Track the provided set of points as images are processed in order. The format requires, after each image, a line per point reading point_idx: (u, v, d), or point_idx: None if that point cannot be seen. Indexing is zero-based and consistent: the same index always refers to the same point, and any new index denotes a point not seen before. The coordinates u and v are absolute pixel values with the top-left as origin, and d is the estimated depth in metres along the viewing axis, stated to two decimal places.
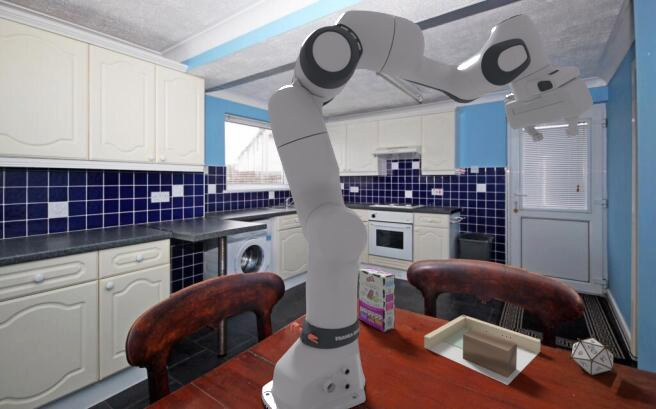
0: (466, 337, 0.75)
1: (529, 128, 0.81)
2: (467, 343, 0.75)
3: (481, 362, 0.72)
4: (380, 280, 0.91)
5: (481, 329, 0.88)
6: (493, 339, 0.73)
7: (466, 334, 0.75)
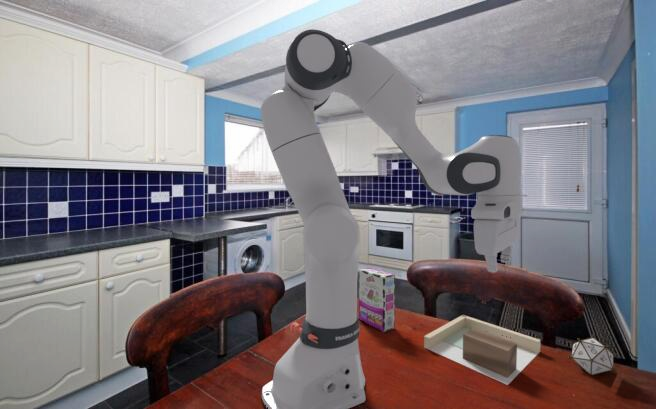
0: (466, 337, 0.75)
1: None
2: (467, 343, 0.75)
3: (481, 362, 0.72)
4: (380, 280, 0.91)
5: (481, 329, 0.88)
6: (493, 339, 0.73)
7: (466, 334, 0.75)
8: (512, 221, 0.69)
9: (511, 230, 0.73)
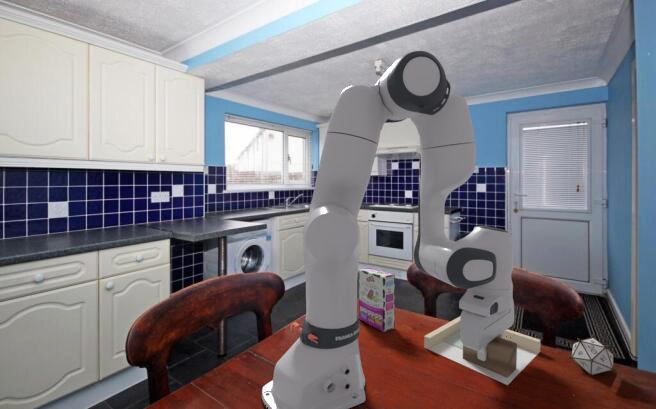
0: None
1: None
2: None
3: (481, 362, 0.72)
4: (380, 280, 0.91)
5: None
6: (493, 339, 0.73)
7: None
8: (502, 313, 0.70)
9: (503, 318, 0.73)
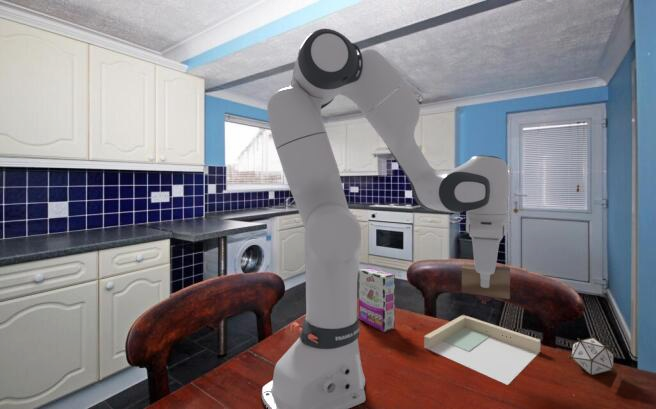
0: (465, 270, 0.75)
1: None
2: (467, 275, 0.75)
3: (482, 291, 0.73)
4: (380, 280, 0.91)
5: (481, 329, 0.88)
6: None
7: (464, 267, 0.75)
8: (500, 239, 0.72)
9: None
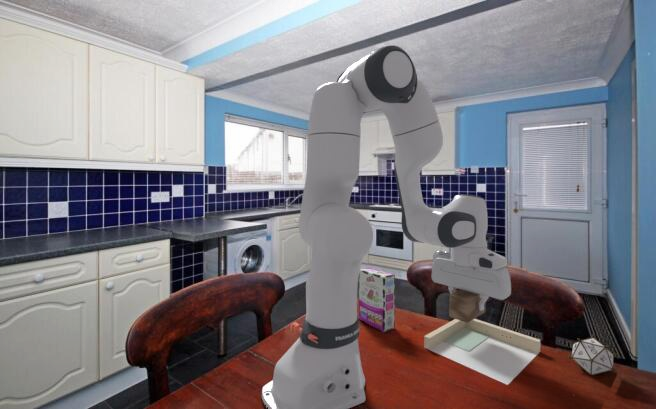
0: (469, 300, 0.80)
1: (453, 289, 0.87)
2: (470, 305, 0.80)
3: (475, 314, 0.83)
4: (380, 280, 0.91)
5: (481, 329, 0.88)
6: (467, 291, 0.85)
7: (466, 298, 0.80)
8: None
9: None
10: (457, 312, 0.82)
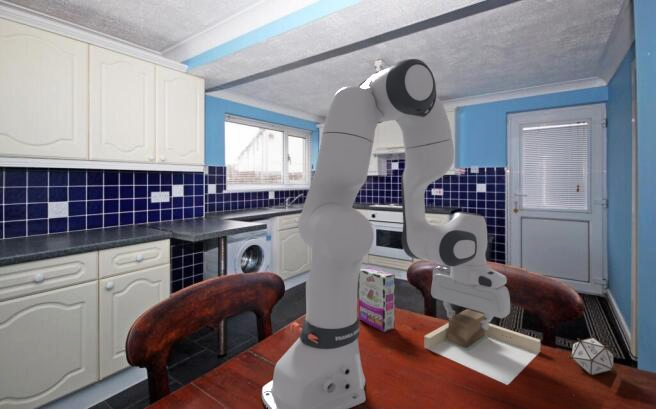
0: (468, 326, 0.80)
1: (448, 304, 0.88)
2: (469, 330, 0.81)
3: (474, 338, 0.83)
4: (380, 280, 0.91)
5: None
6: (466, 315, 0.86)
7: (465, 323, 0.81)
8: None
9: None
10: (456, 337, 0.82)
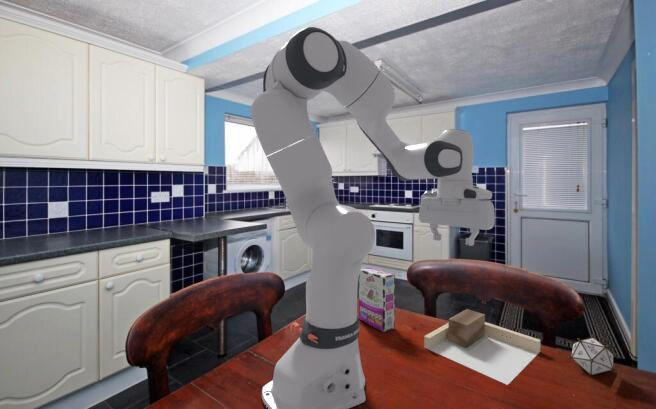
0: (468, 326, 0.80)
1: (434, 226, 0.89)
2: (469, 330, 0.81)
3: (474, 338, 0.83)
4: (380, 280, 0.91)
5: None
6: (466, 315, 0.86)
7: (465, 323, 0.81)
8: None
9: None
10: (456, 337, 0.82)
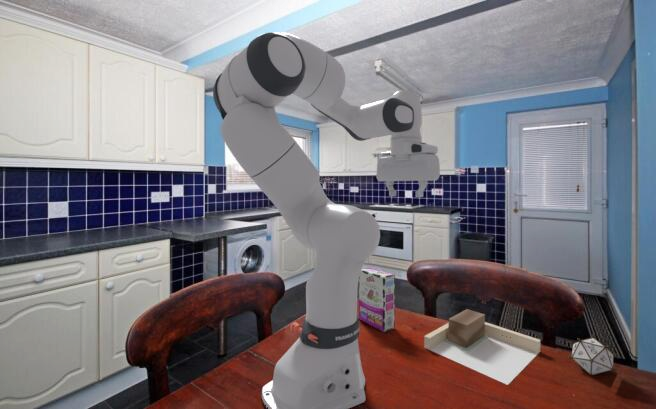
0: (468, 326, 0.80)
1: (390, 183, 0.96)
2: (469, 330, 0.81)
3: (474, 338, 0.83)
4: (380, 280, 0.91)
5: None
6: (466, 315, 0.86)
7: (465, 323, 0.81)
8: None
9: None
10: (456, 337, 0.82)
